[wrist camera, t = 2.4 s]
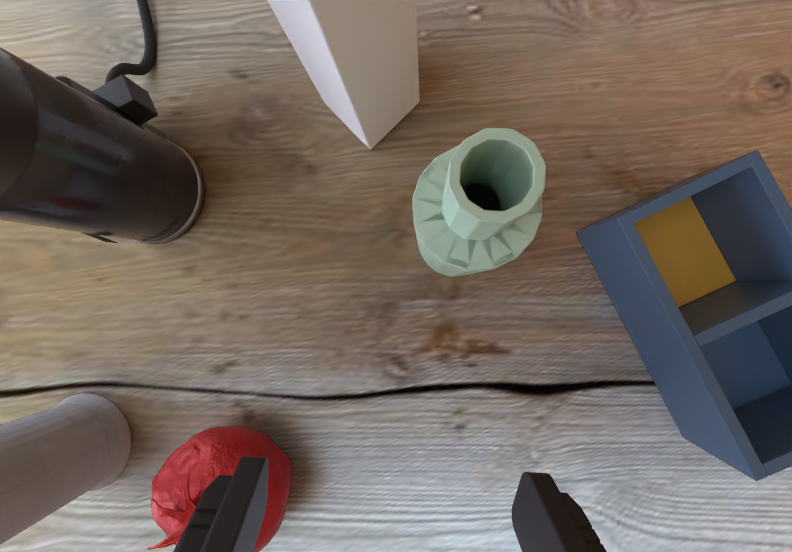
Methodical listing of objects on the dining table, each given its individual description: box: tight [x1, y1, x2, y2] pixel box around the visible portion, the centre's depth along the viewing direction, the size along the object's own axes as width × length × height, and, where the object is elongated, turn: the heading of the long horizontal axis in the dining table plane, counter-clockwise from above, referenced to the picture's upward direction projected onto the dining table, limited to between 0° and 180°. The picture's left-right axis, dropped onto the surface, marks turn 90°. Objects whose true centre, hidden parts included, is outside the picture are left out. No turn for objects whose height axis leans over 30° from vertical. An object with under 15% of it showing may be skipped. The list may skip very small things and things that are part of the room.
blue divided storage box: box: [576, 150, 792, 481], centre depth 26 cm, size 10×18×7 cm, turn 26°
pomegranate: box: [147, 427, 292, 552], centre depth 28 cm, size 10×10×9 cm
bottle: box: [412, 128, 546, 277], centre depth 22 cm, size 6×6×19 cm
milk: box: [267, 0, 420, 150], centre depth 21 cm, size 6×6×22 cm
